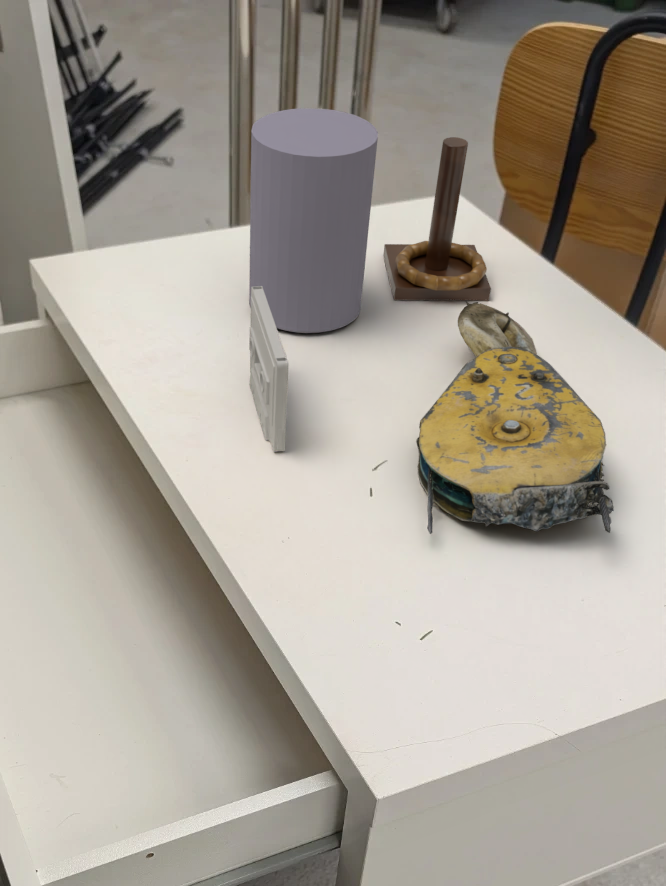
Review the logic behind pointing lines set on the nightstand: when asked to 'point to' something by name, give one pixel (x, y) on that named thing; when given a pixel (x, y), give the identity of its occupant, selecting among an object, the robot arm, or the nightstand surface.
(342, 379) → the nightstand surface
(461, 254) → the ring
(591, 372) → the nightstand surface
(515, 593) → the nightstand surface
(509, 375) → the pulley block
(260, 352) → the cassette
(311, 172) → the container
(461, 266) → the peg stand
